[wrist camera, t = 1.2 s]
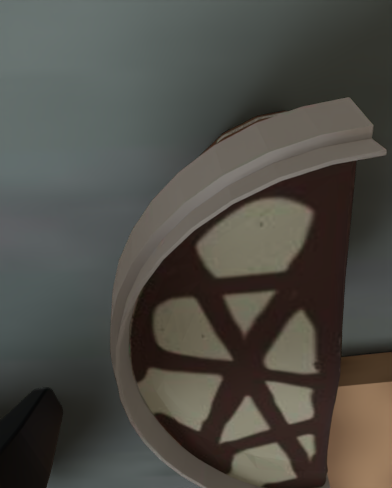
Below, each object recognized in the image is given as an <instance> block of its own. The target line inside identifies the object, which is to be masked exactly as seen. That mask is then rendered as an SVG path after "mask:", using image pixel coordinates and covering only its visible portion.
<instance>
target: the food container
mask: <svg viewBox="0 0 392 488" xmlns="http://www.w3.org/2000/svg"><path fill="white" fill-rule="evenodd" d="M372 134H373V124H372V123H371V122H370V121H369V119H368V118H367V117H366V116H365V115H364V114H363V112H362V111H361V110H360V109H359V108H358V107H357V105H356V104H355V103H354V102H353V101H352V100H351V98H350V97H347V98H342V99H337V100H332V101H327V102H322V103H317V104H312V105H307V106H302V107H299V108H297V109H294V110H291V111H285V110H284V111H279V112H274V113H269V114H264V115H259V116H256V117H254V118H252V119H250V120H248V121H246V122H244V123H242V124H240V125H238V126H236V127H234V128H232V129H230V130H228V131H226V132H224V133H223V134H222V135H221V136H220V137H218V138H217V139H216V140H215V141H214V142H213V143H212V144H211V145H210V146H209V147H208V148H207V149H206V150H205V151H204V152H203V153H202V154H201V155H200V156H199V157H198V158H197V159H195V160H194V161H193V162H191V163H190V164H189V165H187V166H186V167H185V168H184V169H182V170H181V171H180V172H179V173H178V174H177V175H176V176H175V177H174V178H173V179H172V180H171V181H170V182H169V183H168V184H167V185H166V186H165V187H164V188H163V189H162V190H161V191H160V193H159V194H158V195H157V196H156V197H155V198H154V199H153V200H152V201H151V203H150V204H149V206H148V207H147V209H146V210H145V212H144V213H143V215H142V216H141V218H140V219H139V221H138V222H137V224H136V225H135V227H134V228H133V230H132V231H131V234H130V236H129V238H128V241H127V243H126V245H125V248H124V250H123V252H122V255H121V257H120V259H119V263H118V268H117V272H116V277H115V282H114V286H113V295H112V311H111V332H110V354H111V359H112V364H113V369H114V374H115V379H116V381H117V385H118V390H119V395H120V400H121V402H122V405H123V407H124V409H125V412H126V414H127V416H128V418H129V421H130V423H131V424H132V426H133V427H134V429H135V430H136V432H137V433H138V435H139V436H140V438H141V439H142V441H143V442H144V443H145V444H146V445H147V446H148V447H149V448H150V450H151V451H152V452H153V453H154V454H155V455H156V456H157V457H158V458H159V459H160V460H161V461H162V462H164V463H165V464H166V465H168V466H169V467H170V468H172V469H173V470H174V471H176V472H177V473H178V474H179V475H181V476H182V477H184V478H186V479H188V480H189V481H191V482H193V483H195V484H196V485H198V486H200V487H202V488H330V484H329V480H328V475H327V472H328V467H327V452H328V444H329V435H330V428H331V421H332V415H333V410H334V405H335V401H336V396H337V390H338V385H339V380H340V372H341V349H342V323H343V308H344V292H345V276H346V266H347V255H348V245H349V235H350V224H351V214H352V203H353V193H354V182H355V171H356V161H357V160H361V159H367V158H373V157H378V156H384V155H386V152H387V150H386V149H385V148H384V147H382V146H381V145H380V144H378V143H377V142H376V141H374V140H373V139H372Z"/></svg>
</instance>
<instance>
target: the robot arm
mask: <svg viewBox="0 0 392 488" xmlns="http://www.w3.org/2000/svg"><path fill="white" fill-rule="evenodd" d="M62 415H63V410H62V406H61V404H60V402H59V401H58V399H57V397H56V395H55V394H54V392H53V390H52V389H51V388H49V387H46V388H37V389H34V390H33V391H32V392H31V393H30V394H28V395H27V396H26V397H25V398H24V399H23V400H22V401H21V402H20V403H19V404H18V405H17V406H16V407H15V408H13V409H12V410H11V411H10V412H9V413H8V414H7V415H6V416H5V417H4V418H3V419H2V420H1V421H0V488H46V487H47V483H48V480H49V476H50V472H51V468H52V464H53V459H54V454H55V450H56V445H57V440H58V435H59V430H60V426H61V421H62Z"/></svg>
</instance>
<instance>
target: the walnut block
mask: <svg viewBox="0 0 392 488" xmlns="http://www.w3.org/2000/svg"><path fill="white" fill-rule="evenodd" d="M327 467H328V472H327V475H328V480H329V484H330V488H392V352H386V353H376V354H367V355H357V356H348V357H341V372H340V380H339V385H338V390H337V396H336V401H335V405H334V410H333V415H332V421H331V428H330V435H329V444H328V452H327Z"/></svg>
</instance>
